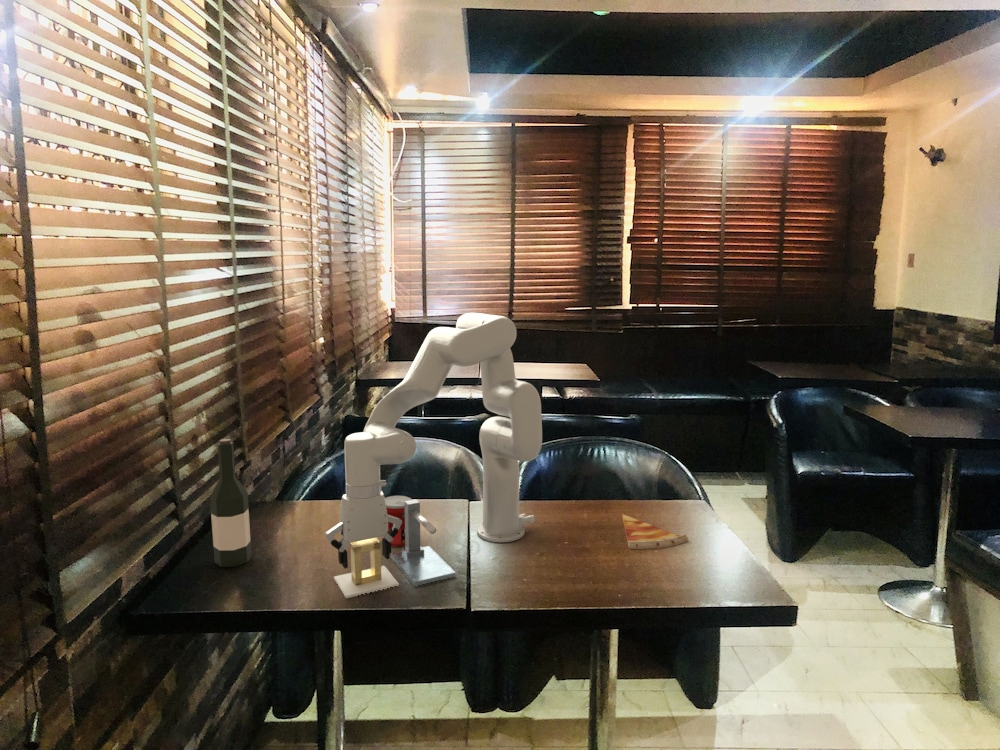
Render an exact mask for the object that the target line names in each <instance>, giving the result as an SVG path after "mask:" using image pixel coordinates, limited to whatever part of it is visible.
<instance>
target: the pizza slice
mask: <svg viewBox="0 0 1000 750" xmlns="http://www.w3.org/2000/svg"><path fill="white" fill-rule="evenodd" d="M621 516H622V520H623V521H622V522H623V525H624V531H625V532H624V533H625V535H626V541H627V545H628V549H631V550H645V549H646V550H648V549H660V548H661V549H662V548H667V547H668V548H669V547H673V546H677V545H680V544H681V545H682V544H684V543H686V542H688V540H689V538H688V536H687V534H684V533H680V534H676V533H673V532H671V531H668V530H664V529H663V528H659V527H658V526H655V525H652V524H650V523H647V522H644V521H641V520H640V519H637V518H634V517H631V516H628V515H626V514H623V513H622V514H621Z"/></svg>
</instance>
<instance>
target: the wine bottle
mask: <svg viewBox="0 0 1000 750" xmlns="http://www.w3.org/2000/svg"><path fill="white" fill-rule="evenodd" d="M218 441H219V443H217V454H218V468H219V470H218V471H219V479H218V481H217V483H216V485H215V487H214V489H213V490H212V492H211V494H210V496H209V502H210V503H209V504H210V505H209V506H210V516H211V517H210V518H211V530H212V545H213V558H214V559H213V560H214V564H216V565H217V566H218V567H221V568H234V567H238V566H241V565H243V564H246V563H248V562H249V561H250V559H251V558H252V546H251V545H252V543H251V528H250V527H251V526H250V511H249V497H248V496H249V495H248V490H247V489H246V488H245V486H243V484H242V483H241V482H240V480H239V479H238V478H237V477H236V467H235V466H236V465H235V463H236V462H235V450H234V448H235V447H234V442H233V441H232V438H231V439H230V438H222V439H220V440H218Z"/></svg>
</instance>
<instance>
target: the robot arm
mask: <svg viewBox="0 0 1000 750" xmlns="http://www.w3.org/2000/svg"><path fill="white" fill-rule="evenodd" d="M517 334H518V333H517V327H516V325H515V323H514V321H513V320H511V319H510V318H509V317H507V316H506V317H505V316H503V315H498V314H497V315H496V314H488V313H482V312H466V313H463V314H462V315H460V316H459V317H458V319H457V321H456V325H455V327H450V326H438V327H434V328H433V329H431V330H430V331H429V332H428V333H427V335H426V337H425V338H424V340H423V343H422V344H421V346H420V348H419V350H418V352H417V354H416V356H415V358H414V360H413V362H412V364H411V365H410V367H409V369H408V371H407V374H406V375H405V377H404V378H403V380H402V381H401V382H400V383H399V384H397V385H396V386H395V387H394V388H393V389H391V390H390V391H389V392H388V393H387V394H386V395H385V396H383V397H382V399H380V400H379V401H378V403H377V404H376V406H375V407H374V408H373V410H372V411H371V414H370V416H369V417H368V420H367V422H366V423H365V426H364V428H363V431H362V432H361V431H360V432H354V433H350V434H349V435H347V436H346V437H345V439H344V442H343V443H344V445H343V446H344V449H343V450H344V469H345V471H344V475H345V494H342V496H341V500H340V501H341V502H340V507H339V509H340V510H339V522H338V523H337V524H336V525H334V526H333V527H331V528H330V529H328V530H327V531H325V533H324V535H325V537H326V538H327V540H328V542H329V543H330V544H331V546H332V547H334V548H335V549H337V550H338V551H337V553H338V554H337V555H338V556H337V557H338V558H337V559H338V563H339V565H341V566H342V567H343V568H344V569H348V568H349V565H348V564H349V563H348V562H349V561H348V560H349V559H348V551H347V550H346V549H347V548H348V546H350V543H352V542H357V541H362V540H367V539H372V538H380V537H382V536H383V537H384V538H383V539H382V538H381V552H382V553H381V555H382V556H383V557H384V558H385V559H386V560H391V554H392V546H391V542H392V541H393V538H394V537H395V536H396V534H397V533H398V530H399V528H400V526H401V524H402V520H401V519H399V518H396V517H393V516H390V515H387V509H386V503H385V498H386V497H385V494H384V492H383V490H382V489H383V488H384V487H387V480H386V479H385V480H384V479H381V465H399V464H404V463H406V462H407V461H410V460H411V458H413V457H414V455H415V453H416V450H417V441H416V440H415V438H414V437H413V436H412V434H411V433H410V432H407V431H405V430H403V429H400V428H397V427H396V425H397V424H398V422H399V421H400V419H401V418H402V417H403V416H404V415H405V414H406V412H408V411H410V410H411V409H413V408H415V407H418V406H420V405H422V404H425V403H427V402H430V401H433V400H434V399H436V398H437V396H439V393H440V391H441V389H442V387H443V384H444V383H445V381H446V379H447V377H448V376H449V373H450V371H451V369H452V367H453V366H455V367H456V366H457V367H461V368H466V367H472V366H475V365H478V364H479V365H480V366H479V367H480V375H481V392H482V403H483V406H484V408H485V409H486V410H487V411H489V412H491V413H494V414H496V415H500V416H491V417H489V418H487V419H486V420H484V422H483V423H482V425H481V426H480V429H479V437H478V439H479V445H480V451H481V455H482V472H483V473H482V474H483V475H482V523H480V525H478V527H477V530H476V533H477V535H478V537H479V538H481V539H482V540H485V541H487V542H492V543H510V542H514V541H515V542H516V541H517V540H520V539H521V538H523V537H524V535H525V527H524V526H525V525H526V524H530V523H535V521H536V518H535V516H534V514H530V515H526V513H521V514H520V465H519V462H523V463H525V462H530V461H531V462H532V461H533V460H535V458H537V457H538V455H539V453H540V452H541V450H542V445H543V424H542V421H543V420H542V403H541V397H540V394H539V392H538V390H537V388H536V387H535V386H534V385H533V384H532V383H530V382H527V381H523V380H518V379H517V378H516V372H515V371H516V370H515V362H514V356H513V352H512V349H511V347H512V346H513V345H514V343H515V341H516V339H517ZM388 522H391V523H394V524H393V527H392V528H391V529H390V530H389V531H388ZM338 533H339V534H340V535H341V537H340V538H339V540H338V539H335V535H337V534H338Z"/></svg>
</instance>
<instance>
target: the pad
mask: <svg viewBox="0 0 1000 750" xmlns="http://www.w3.org/2000/svg"><path fill="white" fill-rule="evenodd" d="M367 570H371V568H367V569H362V571H367ZM381 579H382V580H379V581H374V582H370V583H366V584H361V585H357V586H355V584H354V583H353V581H352V574H351V572H349V573H344V574H339V575H336V576H335V575H334V576H333V580H334V581H335V583H336V585H337V584H338V585H337V586H338V588H339V589H340V591H341V592H342V594H343V596H344V598H345V599H349V598H354V597H358V595H359V596H361V594H363V595H366V594H365V593H367V594H370V592H372V593H375V591H376V592H379V591H378V590H380V591H384V590H388V589H387V588H389V589H391V588H390V587H393V588H395V587H394V586H397V587H399V586H400V583H399V582H398V581H397V579H396V578H395V577H394V575H392V573H391V572H390V570H389V569H388V568H387V567H386V565H381ZM383 589H384V590H383Z"/></svg>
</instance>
